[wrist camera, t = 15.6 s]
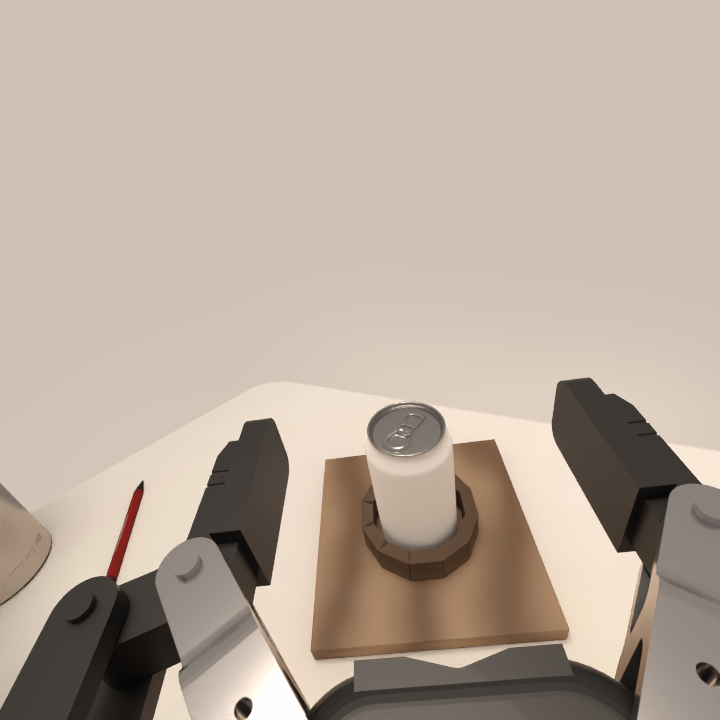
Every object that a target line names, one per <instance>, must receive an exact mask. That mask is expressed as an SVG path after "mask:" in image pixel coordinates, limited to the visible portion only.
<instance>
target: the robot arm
mask: <svg viewBox="0 0 720 720" xmlns="http://www.w3.org/2000/svg"><path fill="white" fill-rule="evenodd" d="M552 431H553V436H554V439H555V442H556V444H557V446H558V448H559V450H560V451H561V453H562V455H563V457H564V459H565V460H566V462H567V464H568V466H569V467H570V469H571V471H572V473H573V475H574V476H575V478H576V480H577V482H578V483H579V485H580V487H581V489H582V491H583V492H584V494H585V496H586V498H587V499H588V501H589V503H590V505H591V507H592V508H593V510H594V512H595V514H596V515H597V517H598V519H599V521H600V523H601V524H602V526H603V528H604V530H605V531H606V533H607V535H608V537H609V538H610V540H611V542H612V544H613V546H614V547H615V549H616V551H617V553H620V552H630V551H636V553H637V554H638V556H639V557H640V559H641V561H642V564H641V567H640V570H639V575H638V580H637V585H636V590H635V595H634V600H633V605H632V610H631V615H630V620H629V625H628V630H627V635H626V639H625V643H624V647H623V651H622V654H621V657H620V660H619V664H618V667H617V671H616V676H615V679H613V678H611V677H610V676H608V675H606V674H605V673H603V672H601V671H598V670H596V669H594V668H592V667H590V666H587V665H584V664H581V663H578V662H575V661H571V660H568V658H567V656H566V653H565V650H564V648H563V645H562V644H552V645H540V646H528V647H515V648H508V649H506V650H503V651H501V652H499V653H496V654H494V655H491V656H489V657H487V658H484V659H482V660H479V661H477V662H475V663H472V664H470V665H467V666H465V667H462V668H452V667H448V666H443V665H439V664H434V663H430V662H425V661H421V660H416V659H412V658H407V657H393V658H381V659H369V660H357V661H354V676H353V677H351V678H349V679H346V680H345V681H343V682H341V683H340V684H338V685H336V686H335V687H334V688H332V689H331V690H330V691H329V692H327V693H326V694H325V695H324V696H323V697H322V698H321V699H320V700H319V701H318V702H317V703H316V704H315V705H314V706H313V707H312V709H311V708H310V706H309V705H308V703H307V701H306V699H305V697H304V696H303V694H302V692H301V690H300V688H299V687H298V685H297V683H296V681H295V680H294V678H293V676H292V675H291V673H290V671H289V669H288V667H287V666H286V664H285V662H284V660H283V658H282V656H281V655H280V653H279V651H278V649H277V647H276V645H275V643H274V642H273V640H272V638H271V636H270V634H269V632H268V630H267V629H266V627H265V625H264V623H263V621H262V619H261V618H260V616H259V614H258V612H257V610H256V608H255V606H254V605H253V599H254V594H255V589H256V587H257V586H267V585H270V584H271V578H272V572H273V566H274V560H275V554H276V548H277V542H278V536H279V530H280V524H281V518H282V512H283V506H284V500H285V494H286V488H287V482H288V476H289V463H288V457H287V453H286V451H285V448H284V445H283V443H282V440H281V437H280V434H279V432H278V429H277V426H276V424H275V422H274V420H273V419H272V418H269V419H261V420H254V421H247V422H245V424H244V426H243V429H242V432H241V435H240V438H239V440H238V441H231V442H229V443H228V444H227V445H226V447H225V448H224V449H223V450H222V451H221V453H220V454H219V455H218V456H217V459H216V462H215V465H214V467H213V470H212V475H210V478H209V481H208V484H207V488H206V489H205V492H204V495H203V497H202V500H201V503H200V505H199V508H198V511H197V514H196V516H195V519H194V522H193V524H192V527H191V530H190V533H189V535H188V538H187V540H186V541H185V542H183V543H181V544H179V545H178V546H176V547H175V548H174V549H173V550H172V551H170V552H169V553H168V555H167V556H166V557H165V558H164V560H163V561H162V562H161V564H160V566H159V568H158V569H157V570H155V571H153V572H150V573H148V574H146V575H143V576H141V577H138V578H136V579H134V580H131V581H129V582H126V583H124V584H122V585H119V586H118V585H117V584H116V583H115V582H114V581H113V580H112V579H111V578H109V577H105V576H98V577H94V578H90V579H88V580H86V581H84V582H82V583H80V584H78V585H77V586H75V587H74V588H73V589H71V590H70V591H69V592H68V593H67V594H66V595H65V596H64V597H63V598H62V599H61V600H60V601H59V602H58V603H57V605H56V606H55V608H54V609H53V611H52V612H51V614H50V616H49V618H48V620H47V622H46V624H45V625H44V627H43V629H42V631H41V633H40V635H39V637H38V639H37V641H36V643H35V645H34V646H33V648H32V650H31V652H30V654H29V656H28V658H27V660H26V662H25V664H24V666H23V668H22V669H21V671H20V673H19V675H18V677H17V679H16V681H15V683H14V685H13V687H12V689H11V690H10V692H9V694H8V696H7V698H6V700H5V702H4V704H3V706H2V708H1V710H0V720H153V717H154V713H155V710H156V706H157V702H158V699H159V695H160V691H161V688H162V684H163V680H164V677H165V673H166V669H167V668H169V667H171V666H173V665H175V664H178V663H180V662H181V663H182V669H181V670H180V671H179V682H180V686H181V690H182V693H183V696H184V699H185V702H186V705H187V708H188V712H189V715H190V718H191V720H720V489H717V488H714V487H711V486H707V485H702V484H701V483H700V482H699V480H698V479H697V478H696V477H695V476H694V475H693V473H692V472H691V471H690V470H689V469H688V468H687V467H686V465H685V464H684V463H683V462H682V461H681V460H680V459H679V457H678V456H677V455H676V454H675V453H674V452H673V451H672V449H671V448H670V447H669V446H668V445H667V444H666V442H665V441H664V440H663V439H662V438H661V437H660V436H658V435H657V432H656V431H655V430H654V429H653V428H652V426H651V425H650V424H649V423H646V420H645V418H644V417H643V416H642V415H641V414H640V413H639V411H638V410H637V409H636V408H635V407H634V406H633V405H632V404H630V403H629V402H627V401H625V400H624V399H622V398H620V397H619V396H617V395H615V394H608V395H605V394H604V393H603V392H602V390H601V389H600V388H599V387H598V385H597V384H596V383H595V382H594V381H593V380H592V379H591V378H581V379H573V380H565V381H560V382H559V383H558V384H557V389H556V396H555V403H554V411H553V418H552ZM50 547H51V537H50V534H49V533H48V532H47V531H46V530H45V529H44V528H43V527H42V526H41V524H40V523H39V522H38V521H37V520H36V519H35V518H34V517H33V516H32V515H31V514H30V513H29V512H28V511H27V510H26V509H25V508H24V507H23V506H22V505H21V504H20V503H19V502H18V501H17V500H16V499H15V498H14V497H13V496H12V495H11V494H10V493H9V492H8V491H7V490H6V488H5V487H4V486H3V485H2V484H1V483H0V604H1V603H2V602H4V601H5V600H7V599H8V598H10V597H11V596H12V595H14V594H15V593H16V592H17V591H18V590H20V589H21V588H22V587H23V586H24V585H25V584H26V583H27V582H28V581H29V580H30V579H31V578H32V577H33V576H34V575H35V574H36V572H37V571H38V570H39V568H40V567H41V566H42V564H43V562H44V561H45V559H46V557H47V555H48V553H49V550H50Z"/></svg>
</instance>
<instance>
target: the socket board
mask: <svg viewBox="0 0 720 720" xmlns="http://www.w3.org/2000/svg"><path fill="white" fill-rule="evenodd" d="M452 445H453V458H454V475H455V493H456V513H457V531H456V535H455V536H454V537H453V538H451V539H450V540H448V541H447V542H446V543H444V544H443V545H441V546H440V547H438V548H437V549H428V550H418V551H409V550H406V549H404V548H401V547H399V546H397V545H394V544H392V543H389V542H387V540H386V538H385V536H384V533H383V529H382V525H381V521H380V517H379V512H378V508H377V503H376V499H375V494H374V490H373V485H372V481H371V476H370V471H369V467H368V462H367V457H366V455H361V456H353V457H345V458H336V459H328V460H325V473H324V486H323V499H322V512H321V525H320V538H319V550H318V563H317V576H316V589H315V602H314V615H313V627H312V640H311V652H312V654H313V656H314V658H315V659H328V658H340V657H352V656H364V655H377V654H389V653H401V652H413V651H426V650H438V649H450V648H462V647H475V646H487V645H499V644H511V643H524V642H536V641H548V640H561V639H567V636H568V632H569V627H568V625H567V622H566V620H565V617H564V615H563V612H562V610H561V607H560V605H559V602H558V599H557V597H556V594H555V592H554V589H553V587H552V584H551V582H550V579H549V577H548V574H547V572H546V569H545V567H544V564H543V561H542V559H541V556H540V554H539V551H538V549H537V546H536V544H535V541H534V539H533V536H532V534H531V531H530V528H529V526H528V523H527V521H526V518H525V516H524V513H523V511H522V508H521V506H520V503H519V501H518V498H517V495H516V493H515V490H514V488H513V485H512V483H511V480H510V478H509V475H508V473H507V470H506V468H505V465H504V462H503V460H502V457H501V455H500V452H499V450H498V447H497V445H496V442H495V440H494V439H493V440H485V441H477V442H468V443H460V444H452Z"/></svg>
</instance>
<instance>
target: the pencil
mask: <svg viewBox="0 0 720 720" xmlns="http://www.w3.org/2000/svg"><path fill="white" fill-rule="evenodd" d="M142 496H143V480H142V482H141V483H140V485H139V486H138V487H137V489H136V490H135V492H134V494H133V497H132V500H131V503H130V506H129V509H128V512H127V515H126V518H125V521H124V524H123V527H122V530H121V533H120V536H119V539H118V542H117V545H116V548H115V551H114V554H113V557H112V560H111V563H110V566H109V569H108V572H107V575H106V577H109V578H111V579H112V580H113V581H114V582H115V583H116V580H117V577H118V574H119V571H120V567H121V564H122V561H123V558H124V554H125V551H126V548H127V545H128V541H129V538H130V535H131V532H132V528H133V525H134V522H135V519H136V515H137V512H138V509H139V505H140V502H141V499H142Z"/></svg>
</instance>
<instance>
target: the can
mask: <svg viewBox="0 0 720 720" xmlns="http://www.w3.org/2000/svg"><path fill="white" fill-rule="evenodd" d="M367 435H368V436H367V439H366V443H365V451H366V457H367V462H368V467H369V471H370V476H371V481H372V485H373V490H374V494H375V499H376V503H377V508H378V512H379V517H380V521H381V525H382V529H383V533H384V536H385V538H386V540H387V542H389V543H392V544H394V545H397V546H399V547H401V548H404V549H406V550H409V551H418V550H428V549H437V548H438V547H440V546H441V545H443V544H444V543H446V542H447V541H448V540H450V539H451V538H453V537H454V536H455V535H456V531H457V513H456V493H455V475H454V458H453V445H452V438H451V435H450V432H449V430H448V429H447V427H446V425H445V421H444V418H443V417H442V415H441V414H440V413H439V412H438V411H437V410H436V409H435V408H433V407H431V406H429V405H427V404H424V403H420V402H411V401H408V402H399V403H394V404H391V405H389V406H386V407H384V408H383V409H381V410H380V411H378V412H377V413H376V414H375V415H374V416H373V417H372V418H371V420H370V422H369V424H368V428H367Z"/></svg>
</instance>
